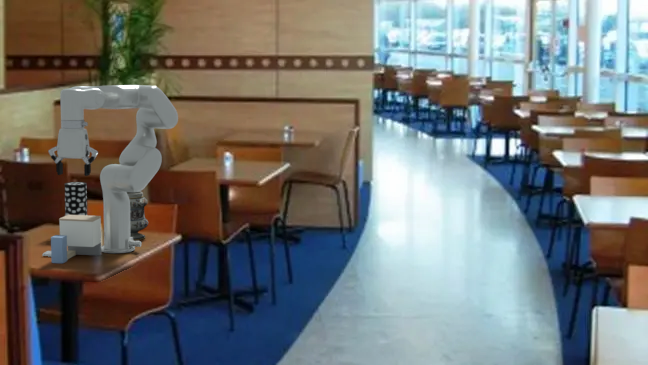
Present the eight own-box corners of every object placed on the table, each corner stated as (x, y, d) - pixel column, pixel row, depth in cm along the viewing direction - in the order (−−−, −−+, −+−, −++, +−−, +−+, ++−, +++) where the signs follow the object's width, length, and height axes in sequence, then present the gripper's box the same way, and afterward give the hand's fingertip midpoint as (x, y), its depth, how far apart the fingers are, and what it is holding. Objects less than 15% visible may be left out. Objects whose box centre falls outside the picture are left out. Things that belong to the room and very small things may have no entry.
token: (61, 255, 350) (61, 251, 350) (56, 258, 345) (56, 254, 345) (47, 254, 351) (47, 250, 350) (42, 257, 346) (42, 253, 346)
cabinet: (101, 254, 350) (101, 215, 348) (93, 259, 342) (92, 220, 340) (69, 253, 352) (68, 214, 350) (59, 258, 344) (59, 218, 342)
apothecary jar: (127, 233, 388) (127, 188, 386) (154, 236, 384) (153, 191, 382) (110, 239, 377) (110, 193, 375) (138, 242, 373) (137, 195, 370)
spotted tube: (89, 231, 391) (88, 182, 388) (85, 235, 383) (84, 185, 380) (68, 231, 391) (67, 182, 388) (63, 235, 382) (62, 185, 380)
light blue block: (77, 255, 349) (77, 230, 348) (62, 263, 336) (62, 237, 334) (66, 254, 349) (66, 229, 348) (51, 262, 336) (50, 237, 335)
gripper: (100, 124, 335) (101, 174, 337) (52, 123, 337) (54, 172, 340) (92, 126, 328) (93, 177, 330) (43, 125, 330) (45, 175, 332)
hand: (73, 174), depth 335 cm, fingers open, 9 cm apart
